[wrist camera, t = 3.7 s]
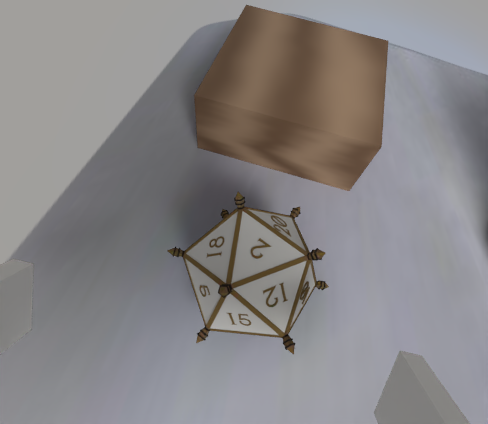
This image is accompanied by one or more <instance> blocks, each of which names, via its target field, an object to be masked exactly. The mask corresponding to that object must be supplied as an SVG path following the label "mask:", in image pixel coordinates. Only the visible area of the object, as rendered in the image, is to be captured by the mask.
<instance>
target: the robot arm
mask: <svg viewBox="0 0 488 424" xmlns="http://www.w3.org/2000/svg"><path fill="white" fill-rule="evenodd" d="M33 271H34V264H33V263H29V262H24V261H20V260H16V259H12V260H9V261H7V262H5V263H3V264H1V265H0V355H1V354H2V353H3V352H4V351H6V350H7V349H8V348H9V347H10V346H12V345H13V344H14V343H15V342H17V341H18V340H19V339H20V338H22V337H23V336H24V335H25V334H27V333H28V332H29V331H30V330H31V329H32V302H33ZM374 414H375V417H376V419H377V422H378V424H470V423H469V422H468V420H467V419H466V417H465V416H464V415H463V413H462V412H461V410H460V409H459V408H458V406H457V405H456V403H455V402H454V401H453V399H452V398H451V396H450V395H449V393H448V392H447V391H446V389H445V388H444V386H443V385H442V384H441V382H440V381H439V379H438V378H437V377H436V375H435V374H434V372H433V371H432V369H431V368H430V367H429V365H428V364H427V362H426V361H425V360H424V358H423V357H422V356H420V355H416V354H412V353H408V352H403V351H399V354H398V356H397V359H396V361H395V363H394V366H393V368H392V371H391V373H390V375H389V378H388V380H387V382H386V385H385V387H384V390H383V392H382V394H381V397H380V399H379V402H378V404H377V406H376V409H375V411H374Z"/></svg>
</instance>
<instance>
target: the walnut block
mask: <svg viewBox="0 0 488 424" xmlns="http://www.w3.org/2000/svg"><path fill="white" fill-rule="evenodd" d="M387 52H388V41H386V40H383V39H379V38H375V37H371V36H367V35H363V34H359V33H355V32H351V31H347V30H343V29H339V28H335V27H331V26H327V25H324V24H320V23H316V22H312V21H308V20H304V19H300V18H296V17H292V16H288V15H284V14H280V13H276V12H272V11H268V10H265V9H260V8H256V7H253V6H249V5H246V6H245V8H244V10H243V12H242V14H241V15H240V17H239V18H238V20H237V22H236V24H235V25H234V27H233V29H232V31H231V32H230V34H229V36H228V37H227V39H226V41H225V43H224V44H223V46H222V48H221V50H220V51H219V53H218V55H217V57H216V58H215V60H214V62H213V64H212V65H211V67H210V69H209V70H208V72H207V74H206V76H205V77H204V79H203V81H202V83H201V84H200V86H199V88H198V90H197V91H196V93H195V95H194V98H195V113H196V128H197V143H198V148H201V149H204V150H208V151H211V152H215V153H218V154H222V155H225V156H229V157H232V158H236V159H239V160H243V161H246V162H250V163H253V164H256V165H260V166H263V167H267V168H270V169H274V170H277V171H281V172H284V173H288V174H291V175H295V176H298V177H302V178H305V179H309V180H312V181H316V182H319V183H323V184H326V185H330V186H333V187H337V188H340V189H344V190H347V191H350V189H351V188H352V186H353V185H354V184H355V182H356V181H357V180H358V178H359V177H360V176H361V174H362V173H363V171H364V170H365V169H366V167H367V166H368V165H369V163H370V162H371V160H372V159H373V158H374V156H375V155H376V154H377V152H378V151H379V149H380V148H381V145H382V130H383V114H384V99H385V83H386V67H387Z"/></svg>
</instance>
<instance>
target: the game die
mask: <svg viewBox="0 0 488 424" xmlns="http://www.w3.org/2000/svg"><path fill="white" fill-rule="evenodd" d="M234 199H235V201H236V202H235V203H236V205H237V207H238V208H237V209H235V210H234V211H233V212H232V213H230V214H228V211H227V210H224V209H222V213H221V216H222V218H224V219H223V220H222V221H221V222H219V223H218V224H217V225H216V226H215V227H213V228H212V229H211V230H210V231H208V232H207V233H206V234H205V235H203V236H202V237H201V238H200V239H199V240H197V241H196V242H195V243H194V244H192V245H191V246H190V247H189V248H188V249H186V250H185V251H182V250H181V249H180V248H179V249H178V248H176V247H175V248H173V249H170V250H167V251H168V252H169V253H171V254H172V255H173V257H174V256H177V257H179V256H182V257H183V259H184V262H185V265H186V268H187V271H188V274H189V277H190V280H191V284H192V287H193V290H194V293H195V296H196V299H197V302H198V305H199V308H200V312H201V315H202V318H203V321H204V324H205V327H204V328H203V329H202V330H200V332H199V333H197V334H198V337H197V342H196V343H198V342H200V341H203V340H206V339H205V338H206V337H208V333H209V331H220V332H230V333H240V334H249V335H259V336H269V337H279V338H283V344H284V345H285V349H286V350H287V349H288V350H289V351H290V352H291V353H293V354H294V345H295V343H293V341H292V340H293V339H291V338H290V337H289V335H288V334H289V332H290V330H291V328H292V327H293V325H294V323H295V321H296V320H297V318H298V316H299V314H300V313H301V311H302V309H303V307H304V306H305V304H306V302H307V300H308V299H309V297H310V295H311V293H312V292H313V290H314V288H315V287H317V288H318V289H322V290H323V289H325V288H327V287H329V286H328V285H327V284H326V283H325V282H324V281H316V277H315V272H314V267H313V262H312V260H322V257H323V256H324V254H325V252H323V251H320V250H319V249H318V248H317V249H316V250H312V252H309V250H308V248H307V246H306V243H305V241H304V239H303V237H302V235H301V233H300V231H299V228H298V226H297V224H296V222H295V220H294V219H295V217H298V215H299V214H300V207H297V208H293V210H292V211H291V214H290V216H289V215H283V214H278V213H273V212H268V211H263V210H258V209H253V208H248V207H244V203H245V201H244V199H245V197H243V196H242V195H241V194H240V193H239V192H237V195H236V197H235V198H234Z"/></svg>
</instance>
